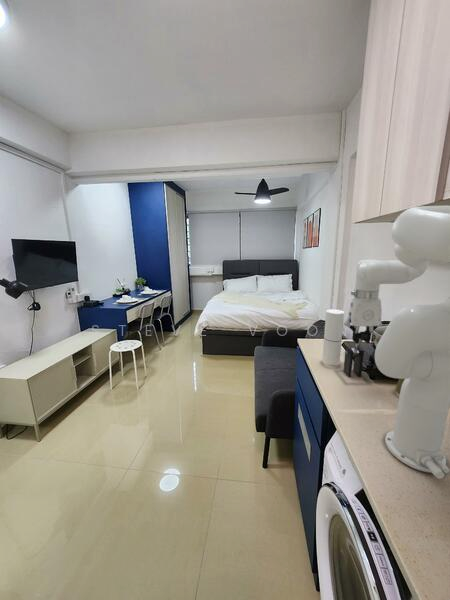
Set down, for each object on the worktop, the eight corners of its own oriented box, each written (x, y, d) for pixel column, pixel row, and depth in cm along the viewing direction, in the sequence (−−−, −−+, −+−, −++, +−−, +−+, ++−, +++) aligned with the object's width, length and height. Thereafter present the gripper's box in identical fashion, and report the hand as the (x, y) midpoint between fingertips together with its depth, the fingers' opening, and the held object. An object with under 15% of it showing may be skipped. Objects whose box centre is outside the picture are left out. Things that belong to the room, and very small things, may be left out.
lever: (370, 336, 87) (366, 329, 90) (361, 336, 87) (357, 329, 90) (358, 358, 96) (355, 351, 98) (350, 358, 96) (347, 351, 98)
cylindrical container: (323, 367, 106) (327, 313, 101) (320, 360, 113) (324, 308, 107) (340, 369, 105) (346, 314, 99) (337, 361, 112) (342, 309, 106)
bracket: (369, 384, 93) (373, 353, 91) (346, 384, 94) (349, 354, 91) (356, 370, 103) (359, 343, 100) (335, 371, 104) (337, 343, 101)
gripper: (347, 296, 83) (343, 346, 87) (396, 296, 83) (389, 346, 87) (338, 292, 91) (334, 338, 95) (383, 292, 90) (377, 338, 94)
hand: (361, 341), depth 91 cm, fingers closed on lever, 3 cm apart
